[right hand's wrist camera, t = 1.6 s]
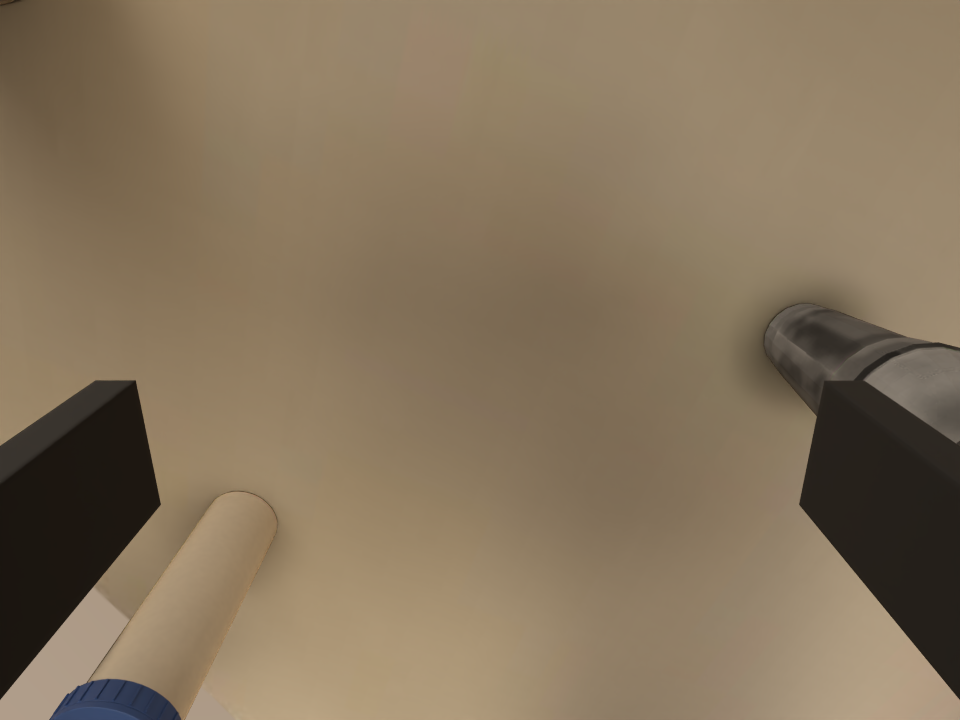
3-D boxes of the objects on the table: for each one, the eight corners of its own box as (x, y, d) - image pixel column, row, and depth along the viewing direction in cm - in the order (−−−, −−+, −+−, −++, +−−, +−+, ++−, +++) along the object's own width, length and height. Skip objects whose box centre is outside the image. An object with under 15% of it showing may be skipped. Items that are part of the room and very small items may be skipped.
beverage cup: (767, 409, 43) (990, 635, 24) (723, 318, 41) (931, 491, 22) (874, 356, 42) (1197, 552, 23) (834, 259, 39) (1155, 389, 21)
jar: (290, 536, 47) (186, 765, 30) (230, 559, 47) (98, 796, 31) (254, 481, 45) (124, 691, 29) (193, 506, 46) (31, 725, 29)
